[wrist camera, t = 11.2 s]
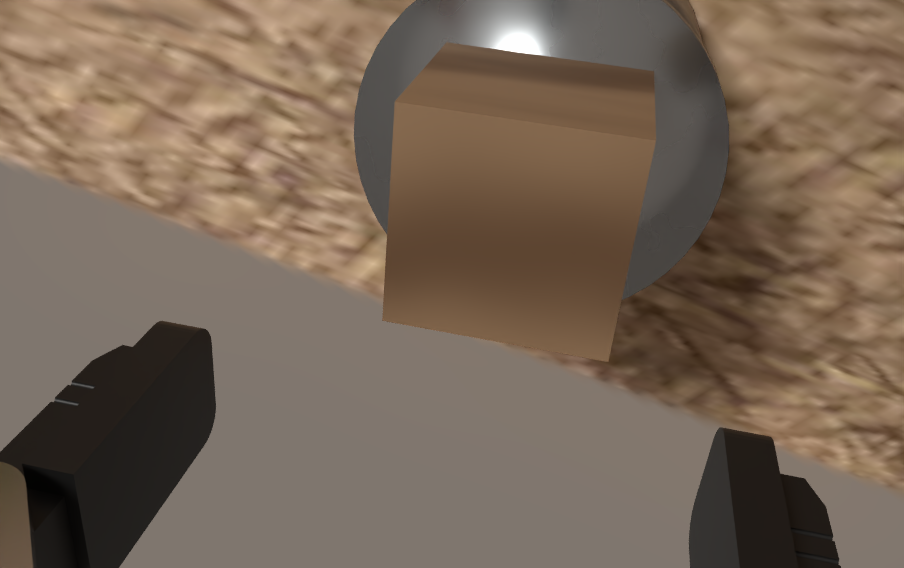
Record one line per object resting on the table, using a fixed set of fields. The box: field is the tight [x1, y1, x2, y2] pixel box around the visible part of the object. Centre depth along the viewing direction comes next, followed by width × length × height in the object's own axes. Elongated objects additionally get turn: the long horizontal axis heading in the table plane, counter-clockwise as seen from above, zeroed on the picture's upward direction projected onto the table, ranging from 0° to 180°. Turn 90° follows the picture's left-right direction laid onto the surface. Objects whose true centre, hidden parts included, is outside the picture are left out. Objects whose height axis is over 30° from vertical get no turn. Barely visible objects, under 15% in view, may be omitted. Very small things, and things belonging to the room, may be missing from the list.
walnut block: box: [382, 42, 656, 362], centre depth 22 cm, size 6×6×6 cm
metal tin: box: [354, 0, 729, 300], centre depth 28 cm, size 10×10×9 cm
